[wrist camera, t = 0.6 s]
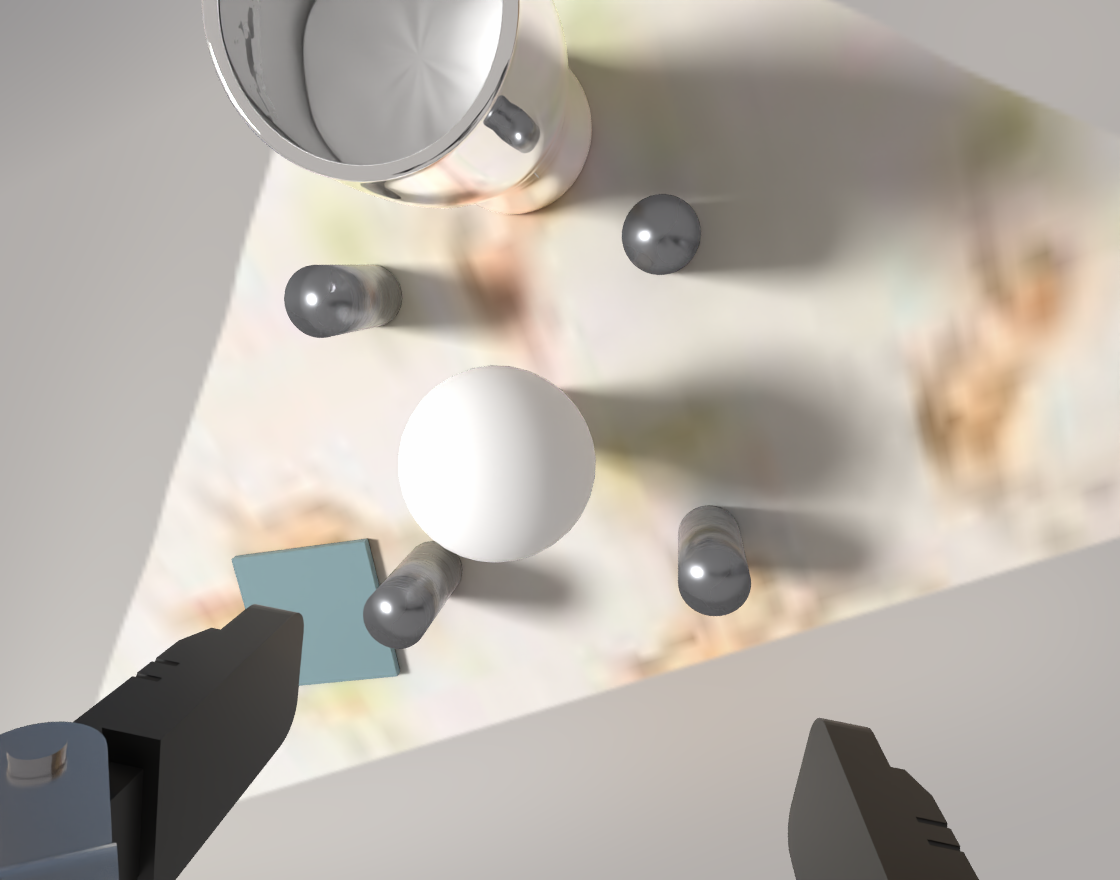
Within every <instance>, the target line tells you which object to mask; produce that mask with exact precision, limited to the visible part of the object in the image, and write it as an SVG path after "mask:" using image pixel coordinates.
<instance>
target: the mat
mask: <svg viewBox="0 0 1120 880" xmlns="http://www.w3.org/2000/svg"><path fill="white" fill-rule="evenodd" d="M232 563H233V567H234V570H235V574H236V577H237V581H238V584H239V588H240V591H241V595H242V599H243V602H244V606H245V609H247V608H248V607H249V606H251V605H253V604H258V605H263V606H268V607H273V608H278V609H283V610H288V611H293V612H298V613H300V614H301V615H302V617H303V620H304V634H303V645H302V655H301V666H300V677H299V686H300V685H311V684H321V683H331V682H342V681H352V680H363V679H373V678H383V677H394V676H398V674H399V673H400V669H399V665H398V661H397V657H396V653H395V649H394V648H389V647H386V646H384V645H382V644H380V643H379V642H377V641H376V640H375V639H374V638H373V637H372V636H371V635H370V634H369V632H368V631H367V629H366V627H365V624H364V620H363V609H364V605H365V603H366V601H367V599H368V598H369V597H370V596H371V595H372V594H373V592H374V591H375V590H376V589H377V588H378V587H379V583H378V579H377V574H376V570H375V566H374V562H373V558H372V554H371V550H370V546H369V542H368V539H361V540H353V541H346V542H338V543H331V544H323V545H315V546H308V547H300V548H293V549H285V550H277V551H270V552H262V553H255V554H247V555H240V556H235V557H234V558H232Z"/></svg>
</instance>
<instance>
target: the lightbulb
mask: <svg viewBox="0 0 1120 880" xmlns="http://www.w3.org/2000/svg"><path fill="white" fill-rule="evenodd" d="M595 465H596V457H595V451H594V445H593V439H592V437H591V434H590V431H589V429H588V426H587V423H586V421H585V419H584V418H583V416H582V415H581V413H580V411H579V410H578V408H577V407H576V405H575V404H574V403H573V402H572V401H571V400H570V398H569V397H568V396H567V395H566V394H565V393H564V392H563V391H562V390H561V389H559V388H558V387H556V386H555V385H554V384H552V383H551V382H550V381H548V380H547V379H545V378H543V377H541V376H539V375H536V374H534V373H532V372H530V371H527V370H523V369H519V368H515V367H511V366H493V365H491V366H484V367H478V368H472V369H470V370H467V371H464V372H462V373H459V374H456V375H454V376H452V377H450V378H448V379H447V380H445V381H444V382H442V383H441V384H439V385H437V386H436V387H434V388H433V389H432V390H431V391H430V392H429V393H428V394H427V395H426V396H425V397H424V398H423V399H422V400H421V402H420V403H419V405H418V406H417V408H416V409H415V411H414V412H413V414H412V415H411V417H410V419H409V420H408V423H407V425H406V428H405V430H404V433H403V435H402V439H401V444H400V450H399V480H400V485H401V490H402V494H403V497H404V499H405V502H406V504H407V506H408V509H409V511H410V512H411V514H412V516H413V517H414V519H415V520H416V522H417V523H418V525H419V526H420V527H421V528H422V529H423V530H424V531H425V532H426V533H427V534H428V535H429V536H430V537H431V538H432V539H433V540H434V541H436V542H437V543H438V544H440V545H441V546H442V547H444V548H445V549H447V550H449V551H451V552H453V553H455V554H457V555H459V556H462V557H465V558H469V559H472V560H476V561H483V562H495V563H497V562H506V561H515V560H520V559H523V558H527V557H530V556H533V555H536V554H538V553H539V552H541V551H543V550H545V549H547V548H549V547H550V546H552V545H553V544H555V543H556V542H557V541H558V540H560V539H561V538H562V537H563V536H564V535H565V534H567V533H568V532H569V531H570V530H571V528H572V527H573V526H574V525H575V523H576V522H577V521H578V519H579V518H580V517H581V515H582V513H583V511H584V509H585V507H586V504H587V502H588V500H589V498H590V495H591V491H592V487H593V483H594V479H595Z"/></svg>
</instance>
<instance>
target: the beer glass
mask: <svg viewBox="0 0 1120 880" xmlns="http://www.w3.org/2000/svg"><path fill="white" fill-rule="evenodd" d="M202 15H203V23H204V30H205V36H206V40H207V45H208V49H209V52H210V56H211V59H212V62H213V65H214V68H215V70H216V73H217V75H218V78H219V80H220V82H221V84H222V86H223V88H224V90H225V92H226V94H227V96H228V98H229V99H230V101H231V103H232V104H233V106H234V107H235V109H236V110H237V112H238V113H239V115H240V116H241V117H242V119H243V120H244V121H245V122H246V124H247V125H248V126H249V127H250V128H251V130H252V131H253V132H254V133H255V134H256V135H257V136H258V137H259V138H260V139H261V140H262V141H263V142H265V143H266V144H267V145H268V146H269V147H270V148H272V149H273V150H274V151H275V152H277V153H278V154H280V155H281V156H282V157H284V158H285V159H287V160H289V161H290V162H292V163H294V164H296V165H297V166H299V167H301V168H304V169H306V170H308V171H310V172H313V173H315V174H318V175H321V176H325V177H328V178H331V179H333V180H335V181H337V182H339V183H342V184H344V185H346V186H349V187H351V188H353V189H356V190H358V191H360V192H363V193H365V194H368V195H371V196H374V197H378V198H381V199H384V200H387V201H391V202H394V203H398V204H403V205H408V206H417V207H425V208H436V209H447V208H458V207H464V206H469V205H474V204H476V205H477V206H479V207H482V208H484V209H486V210H489V211H492V212H496V213H501V214H523V213H529V212H532V211H536V210H538V209H541V208H543V207H545V206H547V205H549V204H551V203H552V202H554V201H555V200H557V199H558V198H559V197H561V196H562V195H563V194H564V193H565V192H566V191H567V190H568V189H569V188H570V187H571V186H572V184H573V183H574V182H575V180H576V179H577V177H578V175H579V174H580V172H581V170H582V168H583V166H584V163H585V161H586V158H587V155H588V152H589V148H590V143H591V135H592V121H591V113H590V108H589V104H588V101H587V98H586V95H585V92H584V90H583V88H582V86H581V84H580V83H579V81H578V79H577V78H576V76H575V75H574V74H573V72H572V71H571V70H570V69H569V68H568V57H567V47H566V41H565V35H564V31H563V27H562V23H561V20H560V17H559V14H558V11H557V9H556V6H555V3H554V1H553V0H202Z"/></svg>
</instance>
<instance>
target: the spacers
mask: <svg viewBox="0 0 1120 880" xmlns="http://www.w3.org/2000/svg"><path fill="white" fill-rule="evenodd" d="M700 236H701V230H700V224H699V220H698V217H697V215H696V213H695V212H694V210H693V209H692V208H691V206H690V205H689V204H688V203H686V202H685V201H684V200H682V199H680V198H678V197H676V196H673V195H668V194H658V195H653V196H649V197H647V198H645V199H643V200H641V201H640V202H638V203H637V204H636V205H635V206H634V207H633V208H632V209H631V211H630V212H629V213H628V215H627V217H626V219H625V222H624V225H623V230H622V242H623V247H624V250H625V252H626V254H627V256H628V258H629V259H630V261H631V262H632V263H633V264H634V265H635V266H636V267H638V268H639V269H641V270H642V271H645V272H647V273H650V274H656V275H664V274H670V273H673V272H676V271H678V270H680V269H681V268H683V267H684V266H685V265H686V264H688V263H689V262H690V260H691V259H692V258H693V256H694V255H695V253H696V251H697V249H698V246H699V243H700ZM284 301H285V308H286V311H287V314H288V316H289V318H290V320H291V321H292V323H293V324H294V325H295V326H296V327H297V328H298V329H299V330H300V331H302V332H303V333H305V334H307V335H309V336H312V337H317V338H324V337H330V336H335V335H340V334H344V333H349V332H354V331H359V330H363V329H368V328H373V327H378V326H382V325H385V324H387V323H389V322H390V321H392V320H393V319H394V318H395V317H396V315H397V314H398V312H399V310H400V307H401V303H402V292H401V288H400V285H399V283H398V281H397V279H396V278H395V276H394V275H393V274H392V273H391V272H390V271H388V270H387V269H385V268H383V267H381V266H378V265H310V266H306V267H304V268H301V269H300V270H298V271H297V272H296V273H294V274H293V276H292V277H291V278H290V280H289V281H288V284H287V286H286V289H285V296H284ZM461 576H462V565H461V561H460V559H459V557H458V555H457V554H455V553H453V552H451V551H449V550H447V549H445V548H444V547H442V546H441V545H440V544H438V543H437V542H434V541H431V542H425V543H422V544H420V545H418V546H417V547H415V548H414V549H413V550H412V552H411V553H410V554H409V555H408V556H407V557H406V558H405V559H404V560H403V561H402V562H401V563H400V564H399V566H398V567H397V568H396V569H395V570H394V571H393V572H392V573H391V574H390V575H389V576H388V577H387V578H386V580H385V581H384V582H383V583H382V584H381V585H380V586H379V587H378V588H377V589H376V590H375V591H374V592H373V594H372V595H371V596H370V597H369V598H368V599H367V601H366V603H365V605H364V609H363V620H364V624H365V627H366V629H367V631H368V632H369V634H370V635H371V636H372V637H373V638H374V639H375V640H376V641H377V642H379V643H380V644H382V645H384V646H386V647H389V648H394V649H403V648H407V647H410V646H412V645H414V644H415V643H417V642H418V641H419V640H420V639H421V637H422V636H423V635H424V633H425V632H426V630H427V629H428V627H429V626H430V624H431V623H432V621H433V620H434V619H435V617H436V616H437V614H438V613H439V611H440V610H441V608H442V607H443V605H444V604H445V603H446V601H447V600H448V598H449V597H450V595H451V594H452V592H453V591H454V590H455V588H456V587H457V585H458V584H459V582H460V580H461ZM678 586H679V591H680V593H681V596H682V598H683V599H684V601H685V602H686V603H687V604H688V605H689V606H690V607H691V608H692V609H694V610H695V611H697V612H699V613H701V614H704V615H709V616H722V615H726V614H729V613H732V612H734V611H735V610H737V609H738V608H739V607H741V606H742V605H743V604H744V602H745V601H746V599H747V597H748V595H749V593H750V589H751V578H750V574H749V569H748V565H747V560H746V556H745V552H744V547H743V543H742V538H741V534H740V530H739V526H738V523H737V521H736V520H735V518H734V517H733V516H732V515H731V514H730V513H729V512H727V511H726V510H724V509H722V508H719V507H716V506H702V507H698V508H696V509H694V510H692V511H690V512H689V513H688V514H687V515H686V516H685V517H684V518H683V520H682V522H681V524H680V527H679V532H678Z"/></svg>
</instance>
